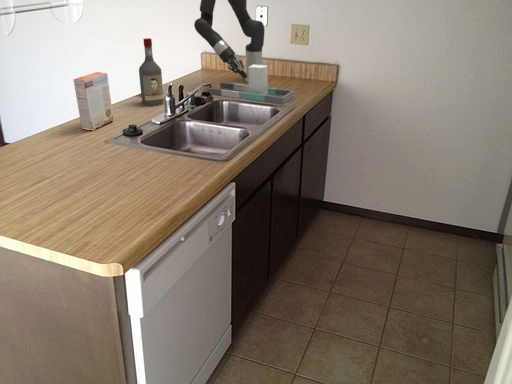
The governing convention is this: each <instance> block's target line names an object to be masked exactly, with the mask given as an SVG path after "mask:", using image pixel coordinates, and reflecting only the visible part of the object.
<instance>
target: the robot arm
mask: <svg viewBox="0 0 512 384" xmlns="http://www.w3.org/2000/svg"><path fill="white" fill-rule="evenodd" d="M216 1H217V0H200V5H199V11H200V17H199V18H197V19H195V21H194V23H193V24H194V29H195V32H197V34H198V35H200V36H201V38H202V39H204V40H205V41H206V42H207V43H208V44H209V45H210V47H211V48H212V50H213V51H214V52H215V54H216V55H217V56H218V57H219V59H221V61H222V63H224V64H226V63H227V64H226V65H228V66H227V69H228V70H230V71H232V72H233V73H235V74H239V76H240V77H241V78H242V79H243V80H245V82H246V83H248V84H249V73H248V67H249V66H251V65H253V64H254V65H263V48H264V44H265V25H264V23H263V22H262V21H261V20H255V19H252V18H251V16H250V14H249V12H248V10H247V7H248V6H247V2H248V1H247V0H227V2H228V4H229V5H230V8H231V9H232V11H233V13H234V15H235V17H236V18H237V21H238V24H239V26H240V28H241V30H242V33H243V34H244V35H245V36H246V38H247V37H248V38H250V43H248V44H246V45H245V67H244V63H243V60H241V59H240V60H239V59H238V58H237V57H236V56H235V55H236V52H235V51H234V50H233V48H232V47H231V45H229V44H228V42H227V41H226V40H225V39H223V37H222V36H221V35H220V33H219V32H217V31H215V30H214V29H213V28H212V27H213V20H214V9H215V6H216V3H217V2H216ZM244 69H245V71H244Z"/></svg>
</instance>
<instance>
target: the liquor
mask: <svg viewBox="0 0 512 384" xmlns="http://www.w3.org/2000/svg"><path fill="white" fill-rule="evenodd" d="M152 41H153V40H152V38H150V37H148V38H143V47H144V61H143V62H142V64H141V65H140V66H139V68H138V75H139V76H138V77H139V85H140V94H141V95H140V97H141V102H142V104H143V103H144V104H143V105H144V106H146V105H156V106H159V105H158V104H161V105H162V103H163V104H164V102H165V101H164V100H165V99H164V90H163V89H164V88H163V76H162V74H163V73H162V68H161V67H160V66H159V65H158V64H157V62H155V60H154V55H153V44H152V43H153V42H152Z"/></svg>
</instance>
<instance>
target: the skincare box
mask: <svg viewBox="0 0 512 384" xmlns="http://www.w3.org/2000/svg"><path fill="white" fill-rule="evenodd" d="M268 66H269V65H268V64H267V65H264V64H262V65H254V64H253V65H251V66H249V67H248V73H249V83H248V85H249V91H248V93H254V94H261V95H269V94H268V88H269V81H268V79H269V76H268Z"/></svg>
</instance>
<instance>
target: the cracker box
mask: <svg viewBox="0 0 512 384" xmlns="http://www.w3.org/2000/svg"><path fill="white" fill-rule="evenodd" d="M73 86H74V91H75V97H76V103H77V108H78V109H77V110H78V115H79V120H80V124H81V125H80V127H81V129H82V128H87V129H95V128H97V127H99V126H102V125H104V124H106V123H109V122H111V121H113V120H114V113H113V106H112V99H111V92H110V84H109V78H108V73H107V72H100V71H96V72H92V73H90V74H86V75H83V76H79V77H76V78H73ZM113 122H114V121H113ZM111 123H112V122H111ZM109 124H110V123H109Z"/></svg>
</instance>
